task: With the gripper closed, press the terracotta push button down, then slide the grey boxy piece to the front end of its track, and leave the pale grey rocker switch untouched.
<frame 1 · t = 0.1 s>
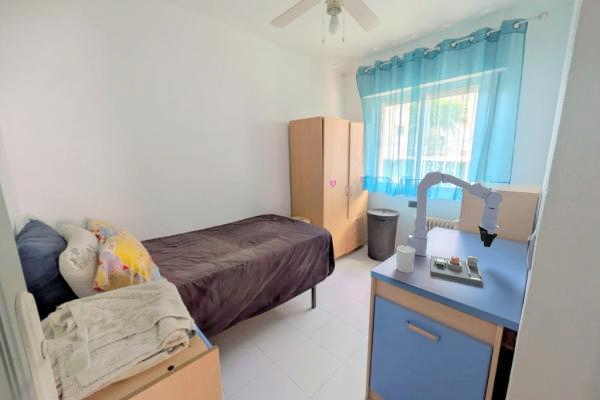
hand: (485, 243, 115), 10 cm above the table, fingers open, 7 cm apart
rocker: (440, 261, 112), point 4 cm above the table, hinge at -10.0°
push button: (454, 260, 109), point 5 cm above the table, slide at 0.0 cm
grey boxy piece: (472, 261, 109), point 5 cm above the table, slide at 0.0 cm
panel: (453, 271, 110), on the table
white cup: (404, 269, 113), on the table
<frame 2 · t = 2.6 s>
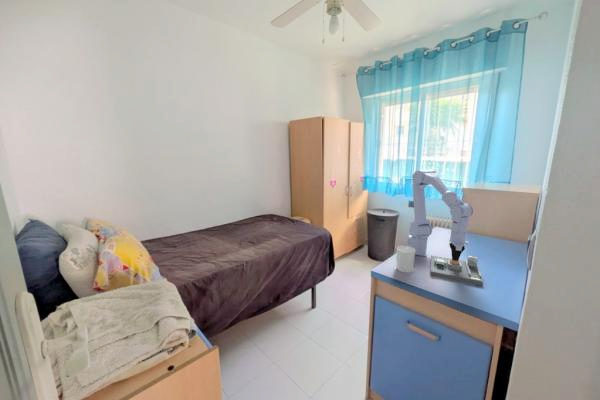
hand: (455, 259, 109), 6 cm above the table, fingers closed, pressing on push button
push button: (454, 262, 110), point 4 cm above the table, slide at 1.1 cm, touching gripper
everything else where it was.
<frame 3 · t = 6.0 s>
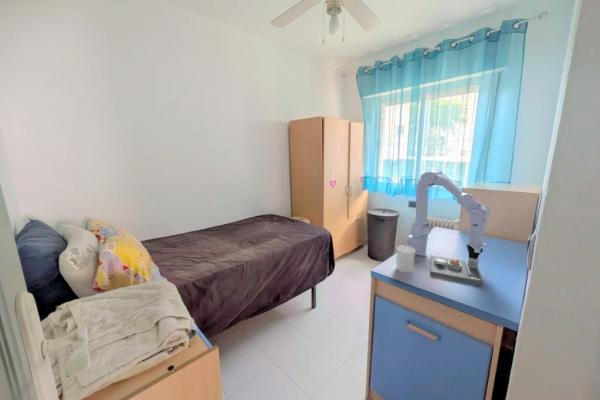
hand: (472, 261, 110), 4 cm above the table, fingers closed
push button: (454, 262, 110), point 4 cm above the table, slide at 1.1 cm
grey boxy piece: (472, 263, 108), point 5 cm above the table, slide at 1.5 cm, touching gripper
everything else where it was.
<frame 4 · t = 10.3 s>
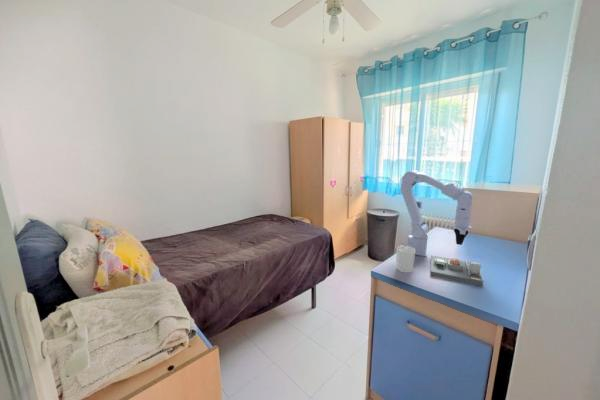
hand: (458, 244, 117), 9 cm above the table, fingers closed
grey boxy piece: (474, 268, 103), point 5 cm above the table, slide at 6.9 cm
everything else where it was.
at the end: push button slide at 1.1 cm; grey boxy piece slide at 6.9 cm; rocker at -10° (first picture: -10°) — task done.
